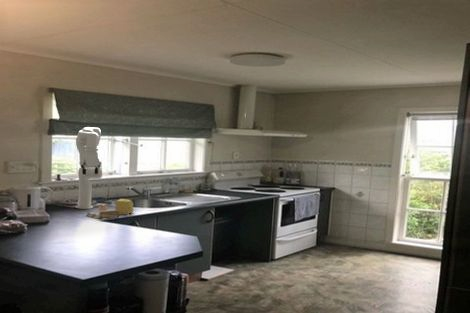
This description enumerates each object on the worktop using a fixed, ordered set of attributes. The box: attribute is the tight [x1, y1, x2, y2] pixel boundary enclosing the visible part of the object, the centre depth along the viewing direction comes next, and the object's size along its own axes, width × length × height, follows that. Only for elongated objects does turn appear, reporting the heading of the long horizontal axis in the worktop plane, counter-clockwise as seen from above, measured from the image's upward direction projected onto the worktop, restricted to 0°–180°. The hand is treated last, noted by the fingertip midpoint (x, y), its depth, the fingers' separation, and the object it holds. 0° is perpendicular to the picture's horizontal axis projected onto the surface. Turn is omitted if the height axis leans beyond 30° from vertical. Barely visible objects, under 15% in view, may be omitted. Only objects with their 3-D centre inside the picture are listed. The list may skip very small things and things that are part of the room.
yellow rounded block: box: [115, 198, 134, 215], centre depth 335 cm, size 10×11×10 cm
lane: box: [86, 209, 120, 220], centre depth 318 cm, size 16×15×5 cm
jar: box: [97, 204, 109, 215], centre depth 318 cm, size 6×6×8 cm
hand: (90, 174), depth 325 cm, fingers open, 9 cm apart
